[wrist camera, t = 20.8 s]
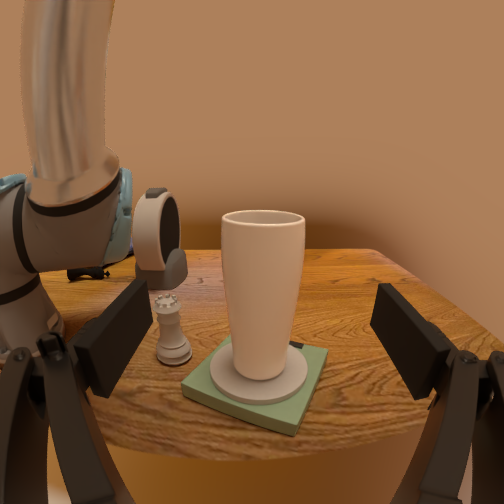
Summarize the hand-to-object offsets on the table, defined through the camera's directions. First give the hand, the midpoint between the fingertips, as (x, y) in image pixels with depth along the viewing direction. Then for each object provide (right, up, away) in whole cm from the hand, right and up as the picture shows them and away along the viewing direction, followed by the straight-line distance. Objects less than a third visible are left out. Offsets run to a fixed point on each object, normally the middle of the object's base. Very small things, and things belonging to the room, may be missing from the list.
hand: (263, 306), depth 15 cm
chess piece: (-41, -1, +36) cm, 54 cm away
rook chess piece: (-10, -10, +17) cm, 22 cm away
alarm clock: (-19, -2, +41) cm, 45 cm away
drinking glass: (0, -9, +12) cm, 14 cm away
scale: (0, -11, +13) cm, 17 cm away
